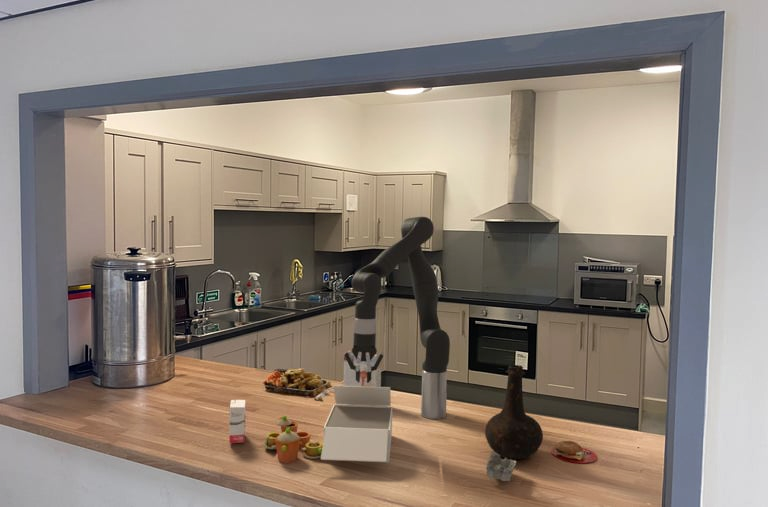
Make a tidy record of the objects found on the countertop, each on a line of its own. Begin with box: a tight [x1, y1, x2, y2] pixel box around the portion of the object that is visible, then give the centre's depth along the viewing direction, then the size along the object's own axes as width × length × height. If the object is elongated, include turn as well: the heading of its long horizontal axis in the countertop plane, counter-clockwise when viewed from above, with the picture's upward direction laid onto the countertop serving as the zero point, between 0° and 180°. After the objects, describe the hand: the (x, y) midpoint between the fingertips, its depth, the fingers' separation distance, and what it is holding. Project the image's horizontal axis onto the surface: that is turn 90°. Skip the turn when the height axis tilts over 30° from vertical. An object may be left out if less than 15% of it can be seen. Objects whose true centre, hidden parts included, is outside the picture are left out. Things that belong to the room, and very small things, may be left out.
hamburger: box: [550, 440, 598, 464], centre depth 178 cm, size 14×14×6 cm
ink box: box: [229, 399, 247, 444], centre depth 184 cm, size 8×5×12 cm, turn 13°
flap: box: [332, 371, 392, 407], centre depth 189 cm, size 19×10×8 cm
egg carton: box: [485, 450, 517, 482], centre depth 160 cm, size 11×8×4 cm
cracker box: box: [343, 350, 382, 406], centre depth 222 cm, size 14×6×21 cm, turn 68°
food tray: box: [262, 367, 344, 401], centre depth 242 cm, size 35×26×11 cm
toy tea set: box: [263, 415, 323, 464], centre depth 177 cm, size 26×16×10 cm, turn 33°
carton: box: [320, 404, 393, 464], centre depth 175 cm, size 20×31×10 cm, turn 177°
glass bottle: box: [484, 364, 544, 460], centre depth 176 cm, size 18×18×28 cm
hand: (363, 381), depth 190 cm, fingers closed on flap, 2 cm apart
